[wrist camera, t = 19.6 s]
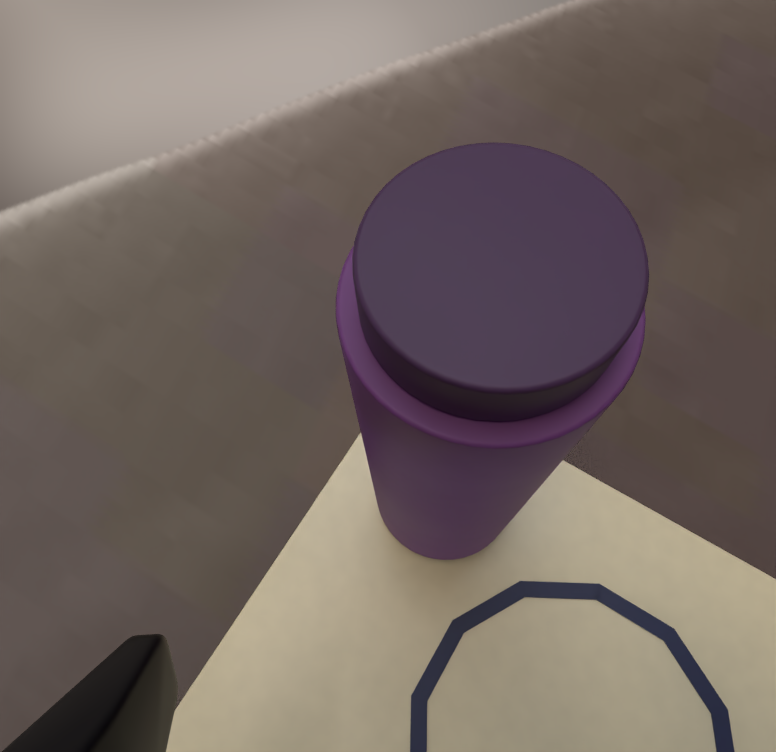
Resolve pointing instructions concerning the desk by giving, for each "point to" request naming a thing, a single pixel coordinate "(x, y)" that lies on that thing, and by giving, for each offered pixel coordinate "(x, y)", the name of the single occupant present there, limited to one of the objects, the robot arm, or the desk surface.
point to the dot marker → (485, 333)
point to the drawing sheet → (494, 637)
